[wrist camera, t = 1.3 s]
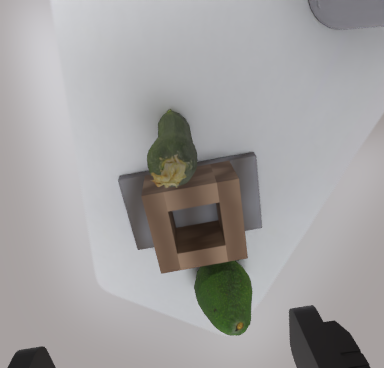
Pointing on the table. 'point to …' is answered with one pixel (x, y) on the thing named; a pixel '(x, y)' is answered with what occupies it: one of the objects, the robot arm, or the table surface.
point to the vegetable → (172, 152)
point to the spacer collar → (196, 213)
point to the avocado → (225, 296)
